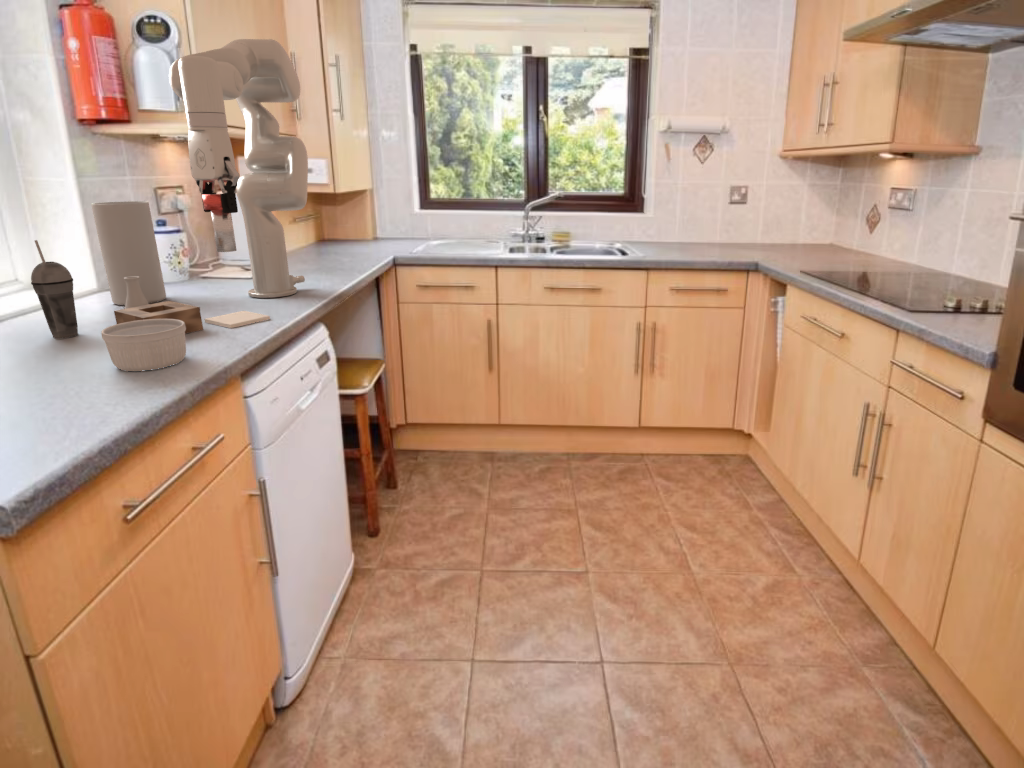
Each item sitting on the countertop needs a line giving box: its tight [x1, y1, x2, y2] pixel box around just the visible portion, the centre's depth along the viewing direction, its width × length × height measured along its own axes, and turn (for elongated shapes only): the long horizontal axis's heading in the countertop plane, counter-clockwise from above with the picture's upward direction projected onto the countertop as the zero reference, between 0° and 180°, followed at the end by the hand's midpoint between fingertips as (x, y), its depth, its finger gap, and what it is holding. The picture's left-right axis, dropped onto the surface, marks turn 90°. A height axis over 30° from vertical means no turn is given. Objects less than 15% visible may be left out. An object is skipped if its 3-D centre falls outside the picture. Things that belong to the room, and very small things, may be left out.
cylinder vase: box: [91, 200, 167, 306], centre depth 165 cm, size 12×12×25 cm
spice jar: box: [201, 193, 237, 253], centre depth 140 cm, size 6×6×12 cm
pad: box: [204, 310, 271, 329], centre depth 147 cm, size 10×10×1 cm
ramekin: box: [100, 319, 187, 372], centre depth 116 cm, size 13×13×7 cm
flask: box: [124, 276, 149, 309], centre depth 147 cm, size 7×7×10 cm
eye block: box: [113, 300, 204, 335], centre depth 138 cm, size 12×12×5 cm
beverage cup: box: [30, 239, 79, 339], centre depth 133 cm, size 7×7×20 cm
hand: (220, 211), depth 139 cm, fingers closed on spice jar, 6 cm apart
